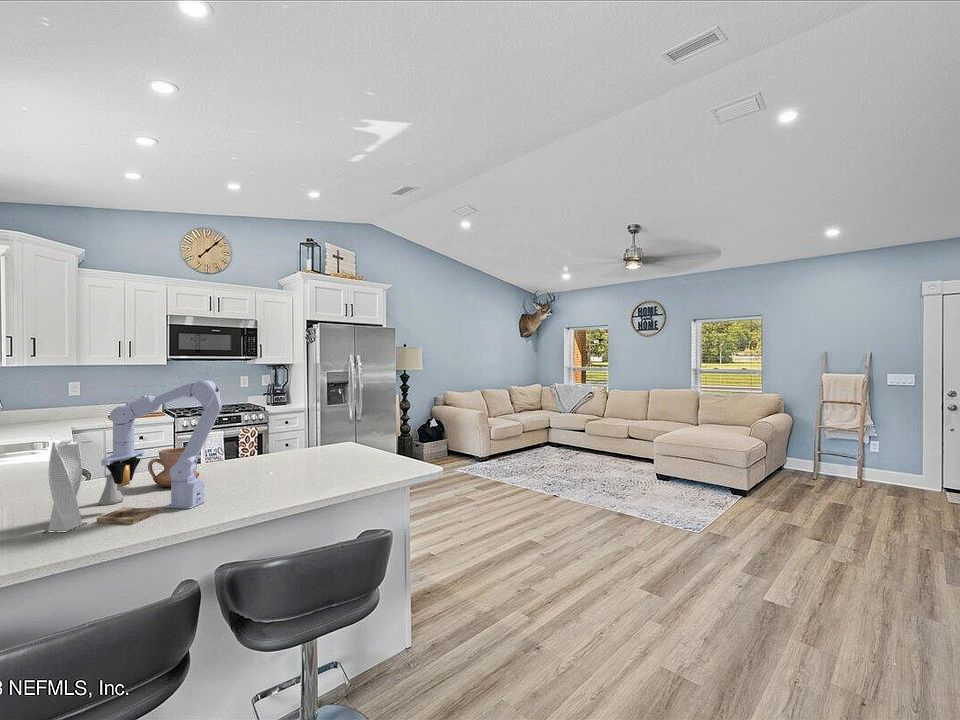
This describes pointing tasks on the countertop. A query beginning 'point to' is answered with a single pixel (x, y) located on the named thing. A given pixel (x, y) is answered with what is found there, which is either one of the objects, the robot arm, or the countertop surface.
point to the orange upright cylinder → (125, 479)
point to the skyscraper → (65, 485)
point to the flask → (110, 492)
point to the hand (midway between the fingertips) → (123, 481)
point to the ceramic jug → (167, 465)
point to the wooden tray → (127, 515)
